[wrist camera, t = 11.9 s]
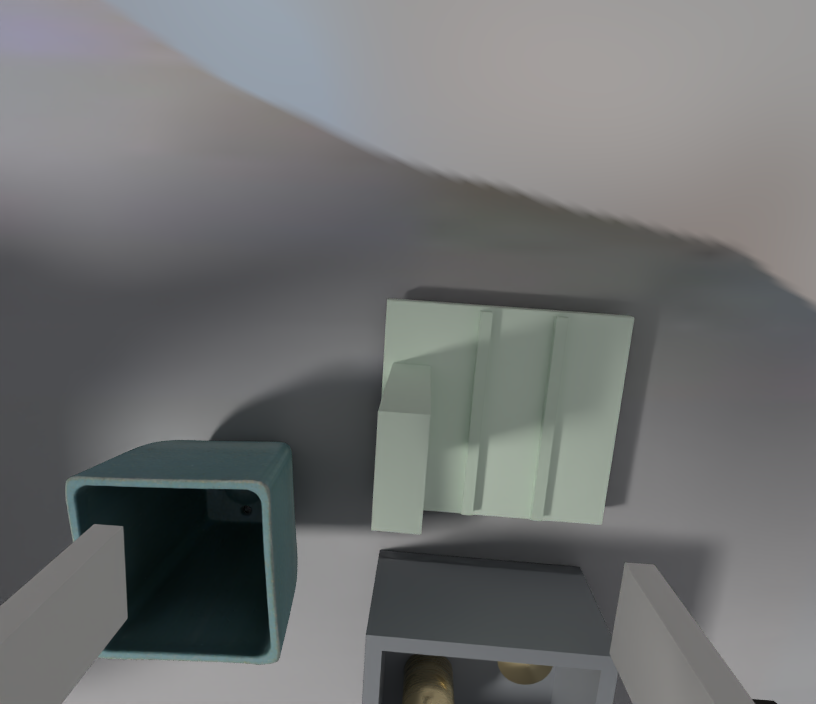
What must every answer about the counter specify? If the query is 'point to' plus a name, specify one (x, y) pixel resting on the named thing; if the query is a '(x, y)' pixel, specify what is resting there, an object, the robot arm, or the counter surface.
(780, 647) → the counter surface
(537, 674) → the part
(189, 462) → the flower pot
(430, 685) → the part
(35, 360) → the counter surface
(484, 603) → the tub
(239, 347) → the counter surface
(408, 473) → the lid
